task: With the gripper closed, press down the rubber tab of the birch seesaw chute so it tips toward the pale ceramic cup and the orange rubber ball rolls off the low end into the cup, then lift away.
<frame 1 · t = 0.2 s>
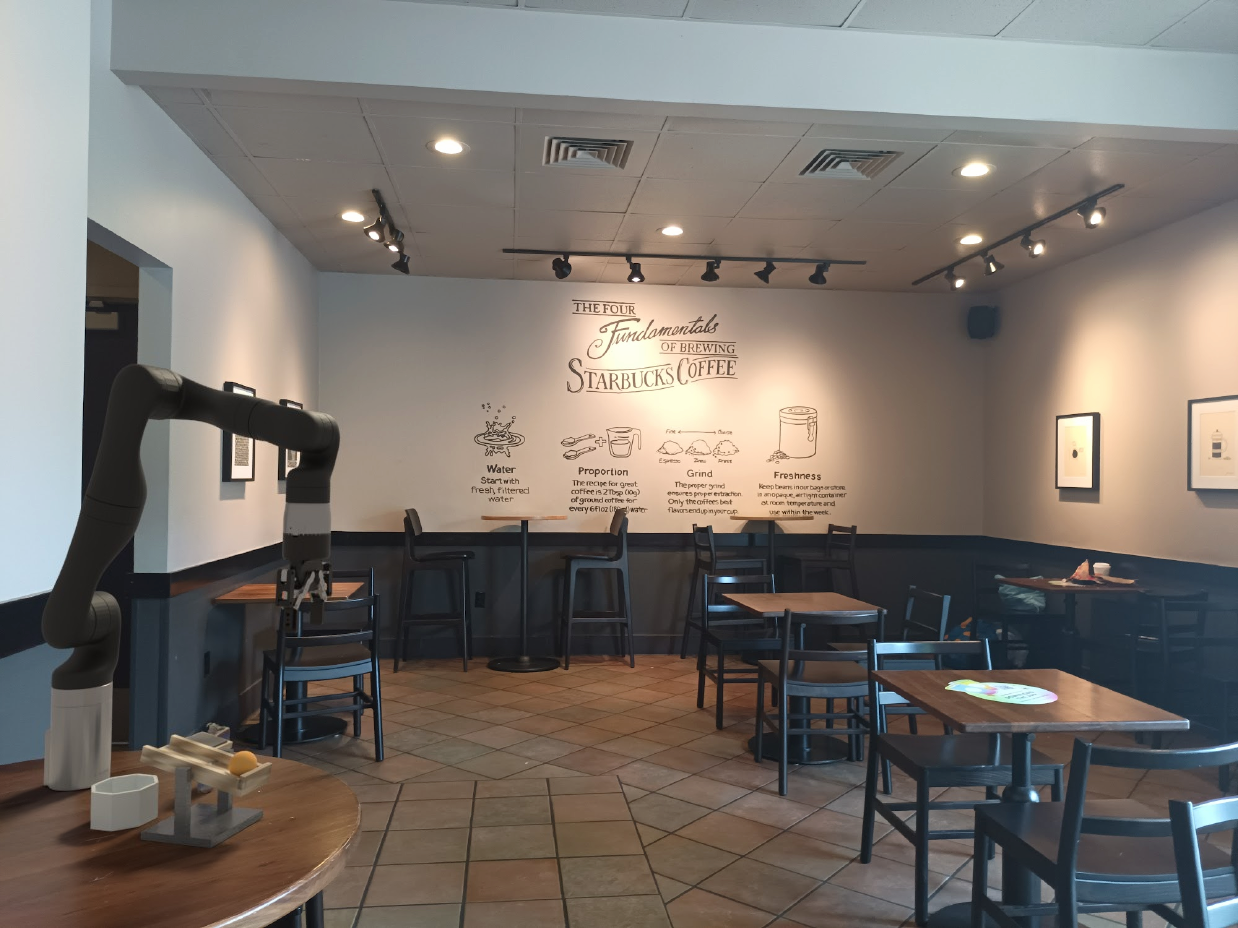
hand: (304, 628, 143), 29 cm above the table, fingers open, 8 cm apart
lever stand: (204, 828, 132), on the table
lever: (220, 756, 135), point 10 cm above the table, hinge at 12.0°, touching ball
ball: (243, 764, 131), point 10 cm above the table, tilted 12°, touching lever
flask: (212, 785, 151), on the table
cup: (124, 818, 135), on the table
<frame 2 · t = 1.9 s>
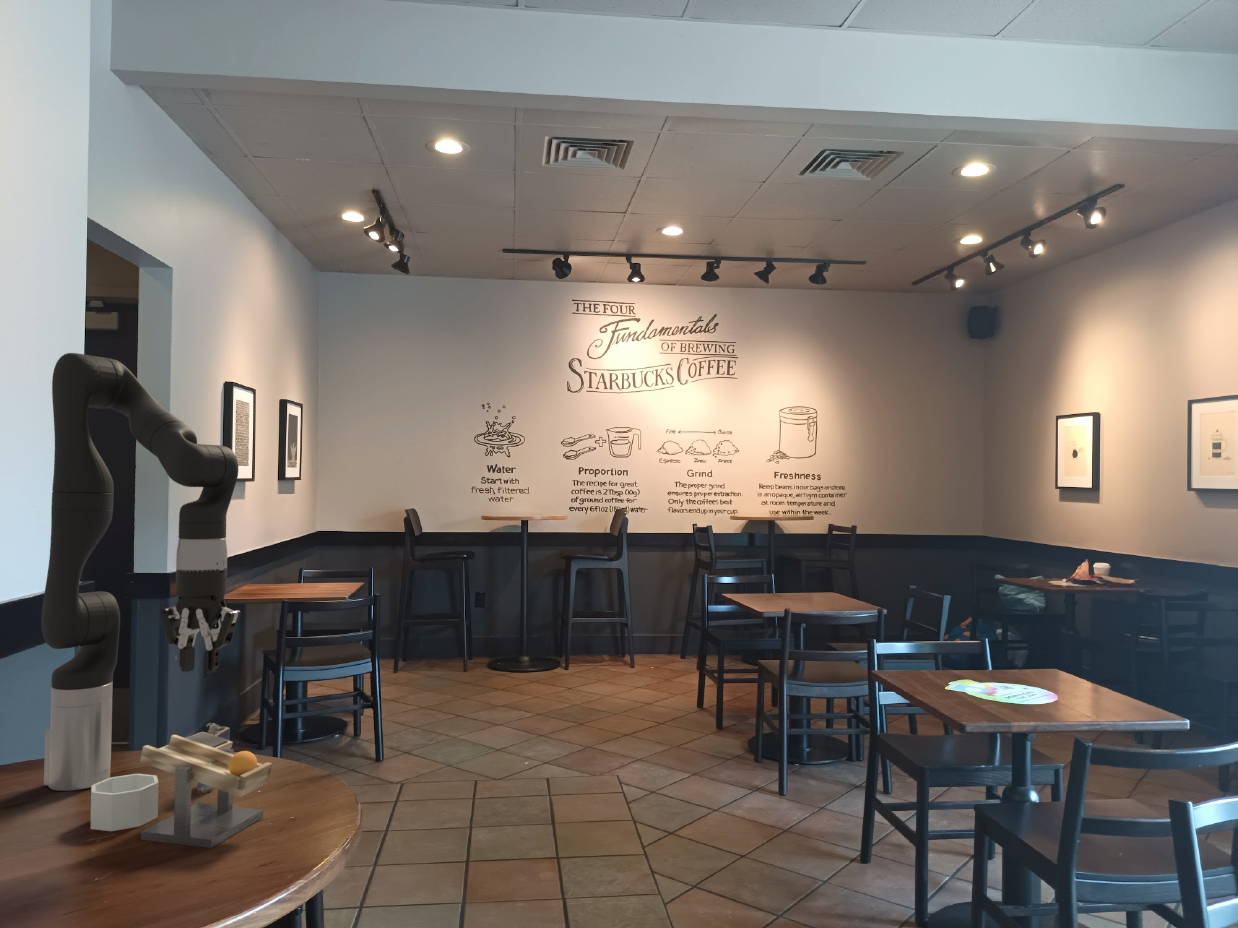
hand: (199, 671, 140), 22 cm above the table, fingers open, 3 cm apart
nothing on the table moved.
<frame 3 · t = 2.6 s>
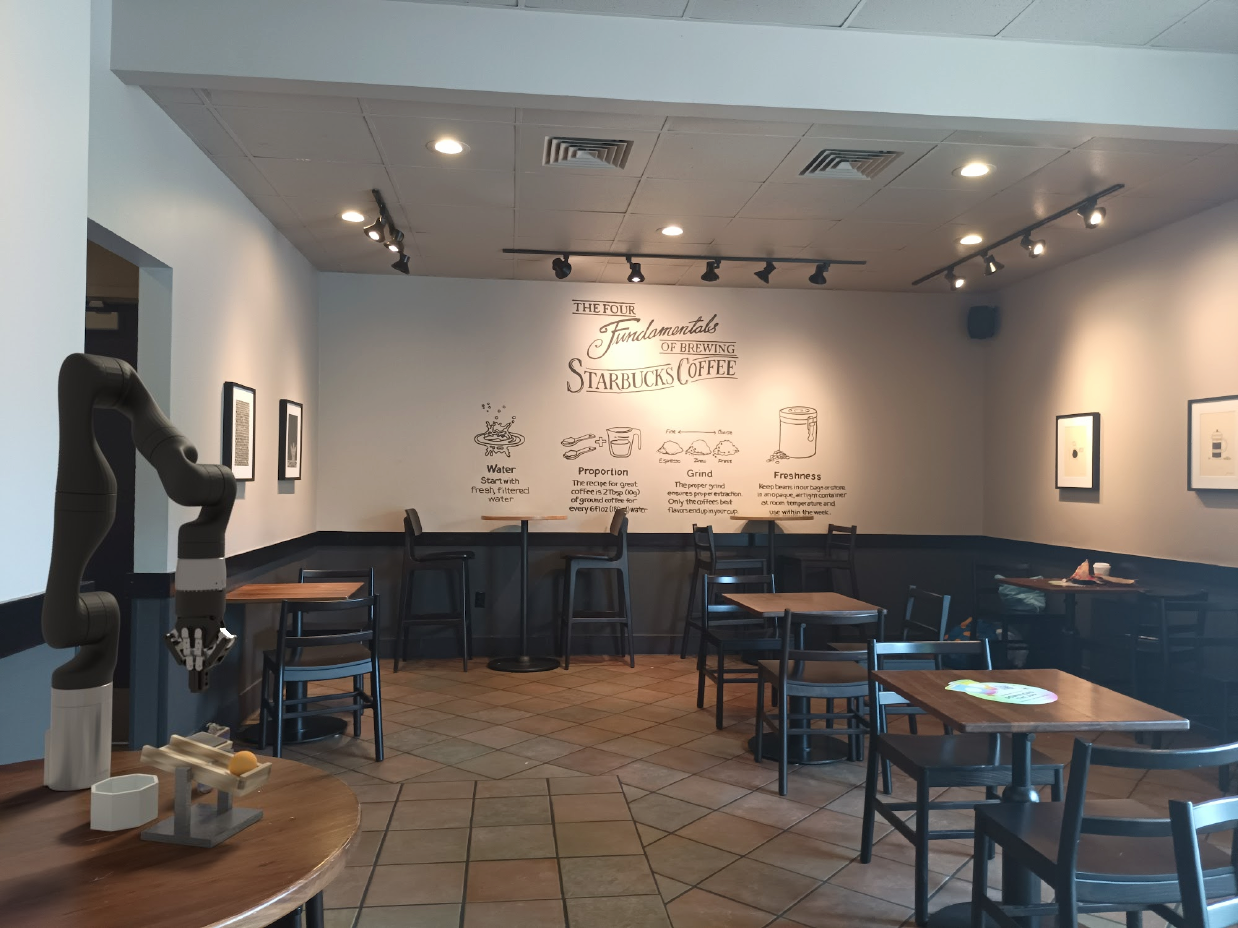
hand: (198, 692, 140), 19 cm above the table, fingers closed
nothing on the table moved.
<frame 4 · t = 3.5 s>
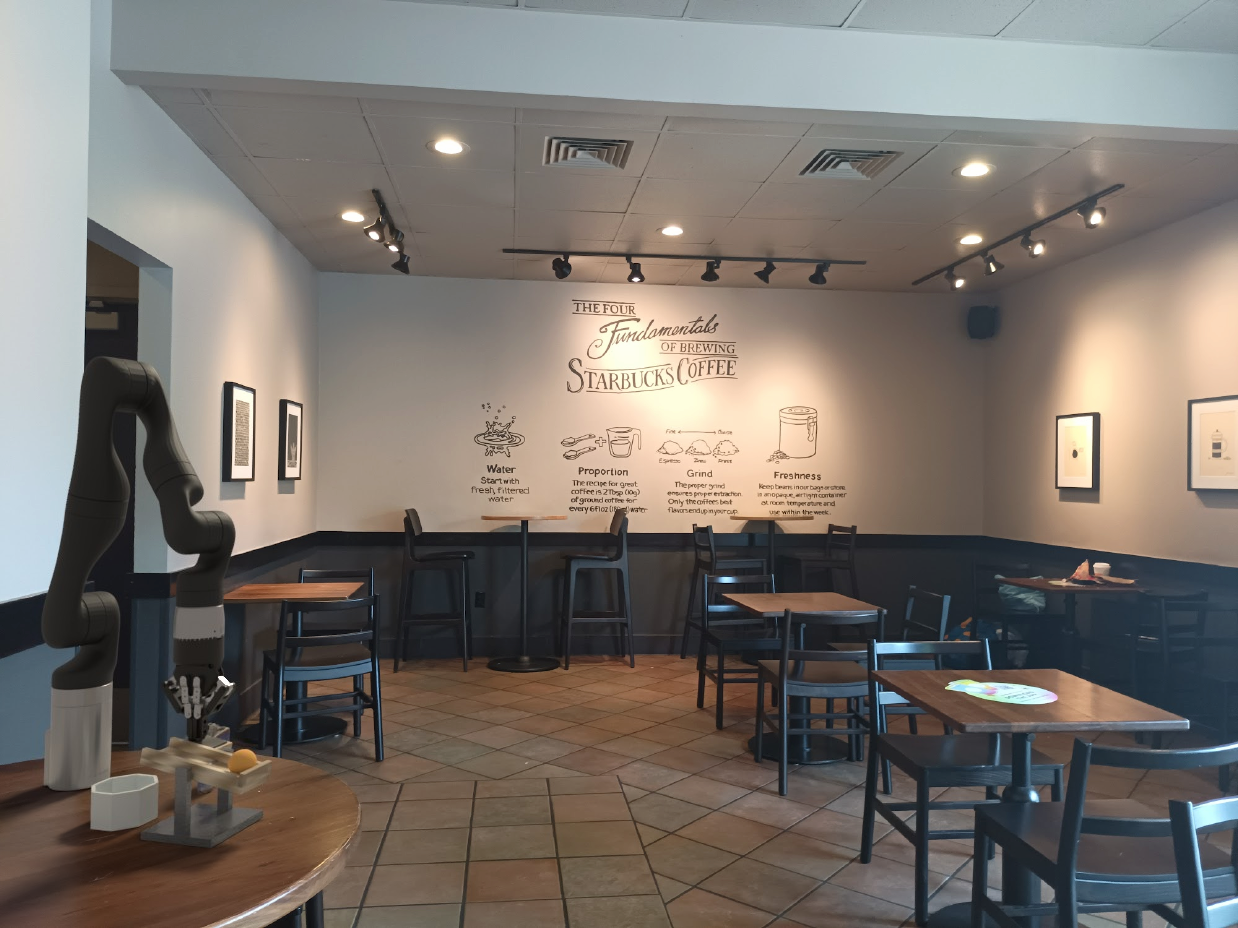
hand: (197, 739, 140), 11 cm above the table, fingers closed
lever: (220, 756, 135), point 10 cm above the table, hinge at 9.6°, touching ball, gripper
everything else where it was.
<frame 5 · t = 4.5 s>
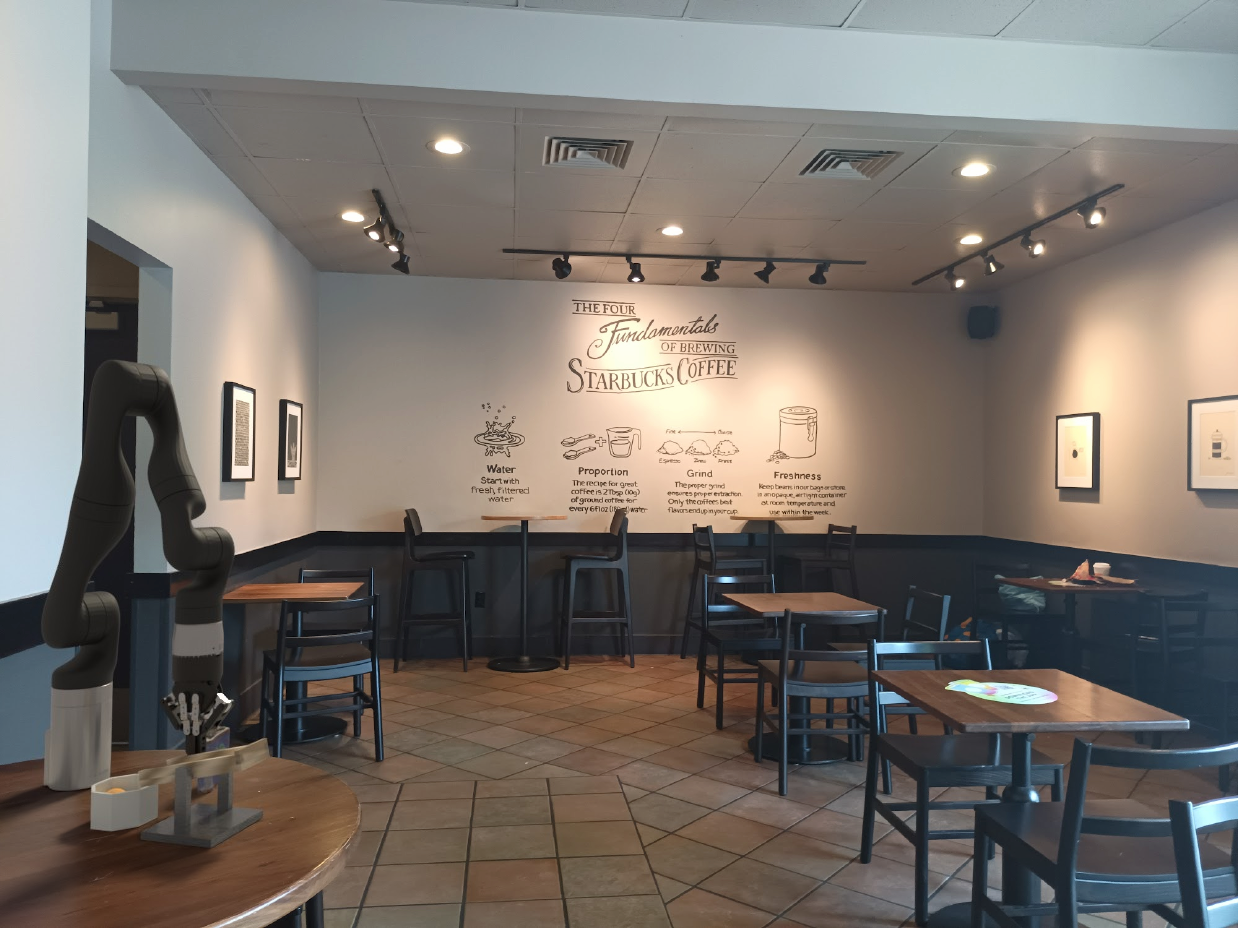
hand: (195, 756, 140), 8 cm above the table, fingers closed
lever: (218, 756, 135), point 10 cm above the table, hinge at -12.6°, touching gripper
ball: (114, 801, 136), point 2 cm above the table, touching cup
everything else where it was.
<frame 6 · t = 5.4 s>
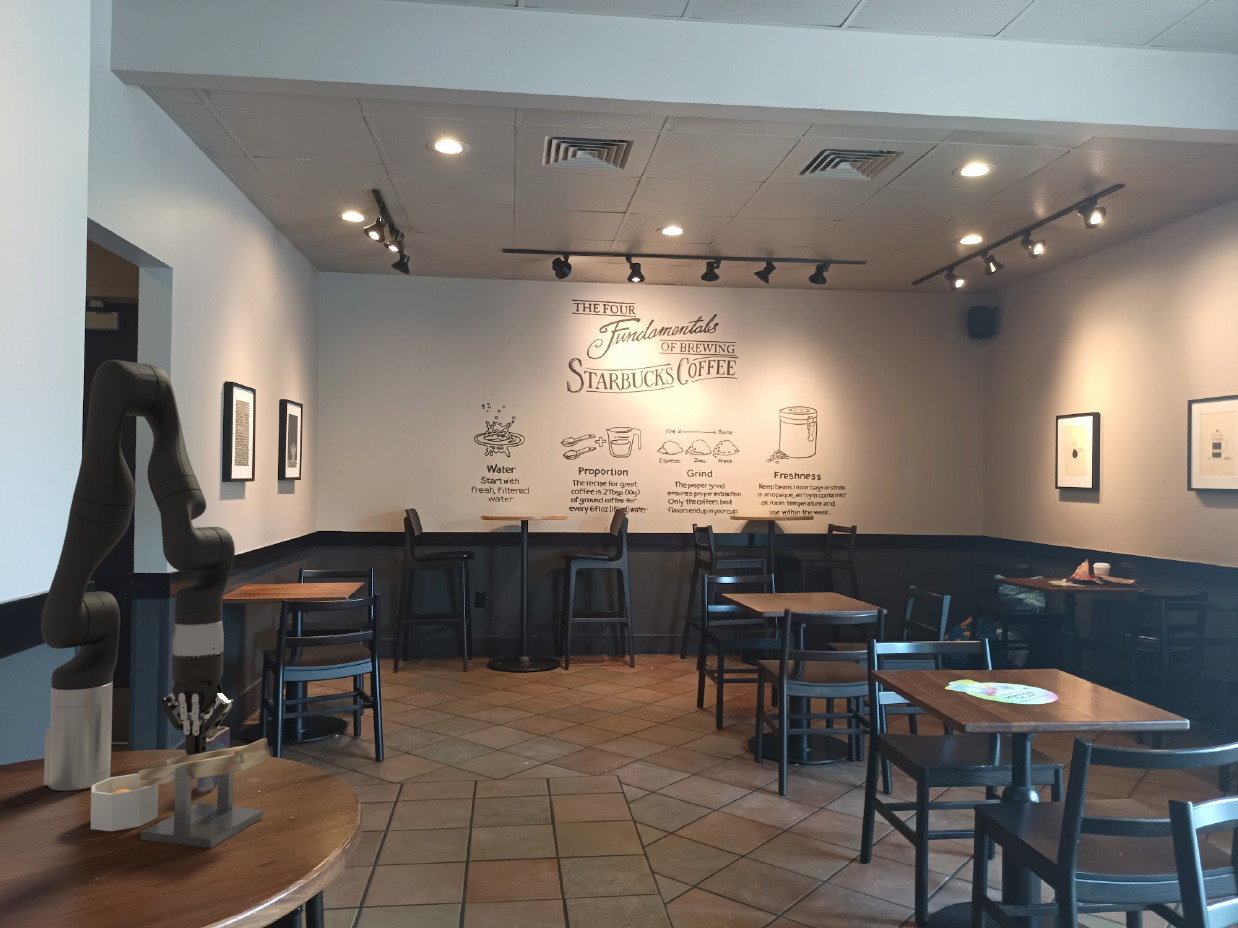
hand: (195, 756, 140), 8 cm above the table, fingers closed
ball: (120, 802, 135), point 2 cm above the table, tilted 40°, touching cup
everything else where it was.
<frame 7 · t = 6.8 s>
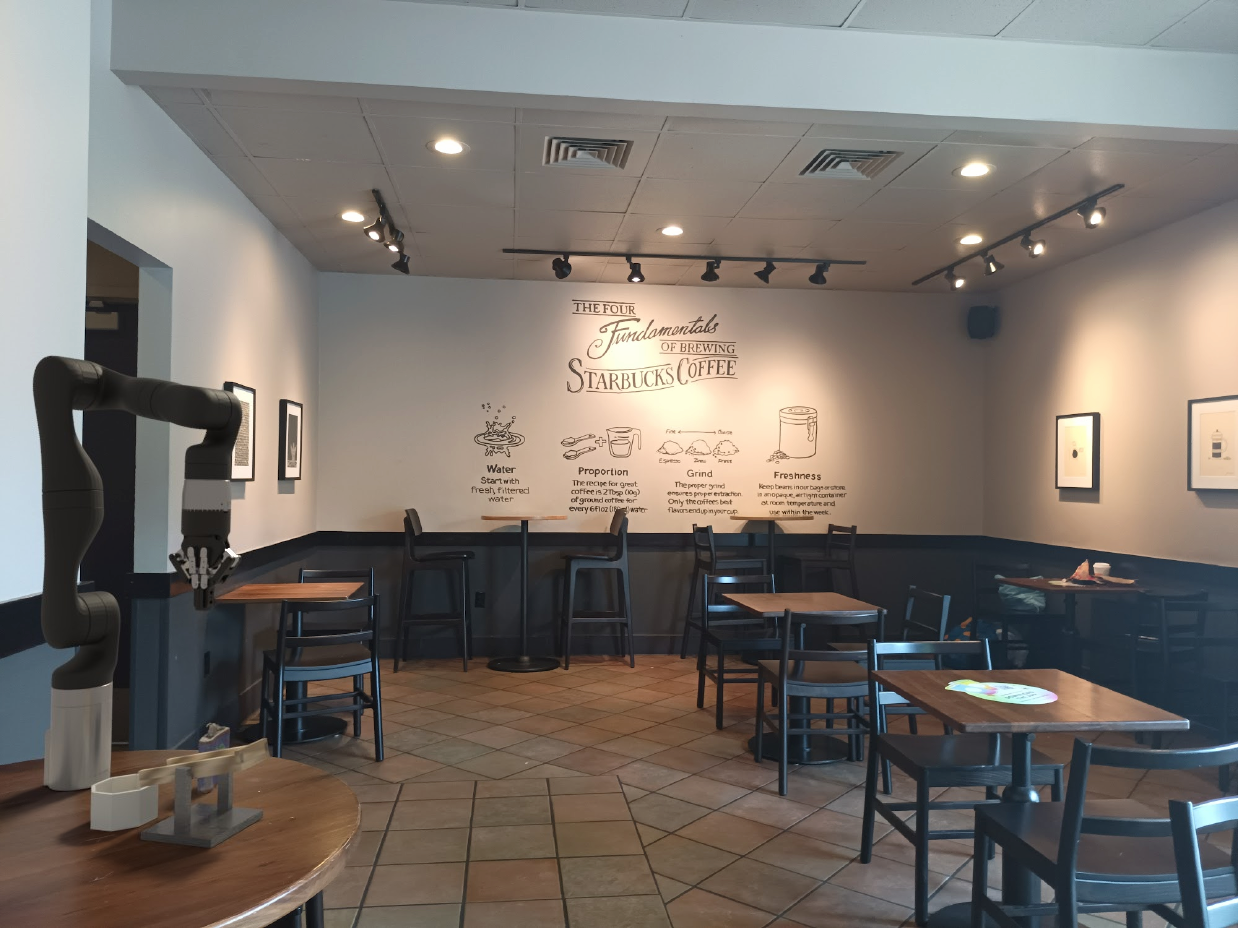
hand: (203, 610, 144), 32 cm above the table, fingers closed
lever: (218, 756, 135), point 10 cm above the table, hinge at -12.6°
ball: (131, 803, 135), point 2 cm above the table, tilted 96°, touching cup
everything else where it was.
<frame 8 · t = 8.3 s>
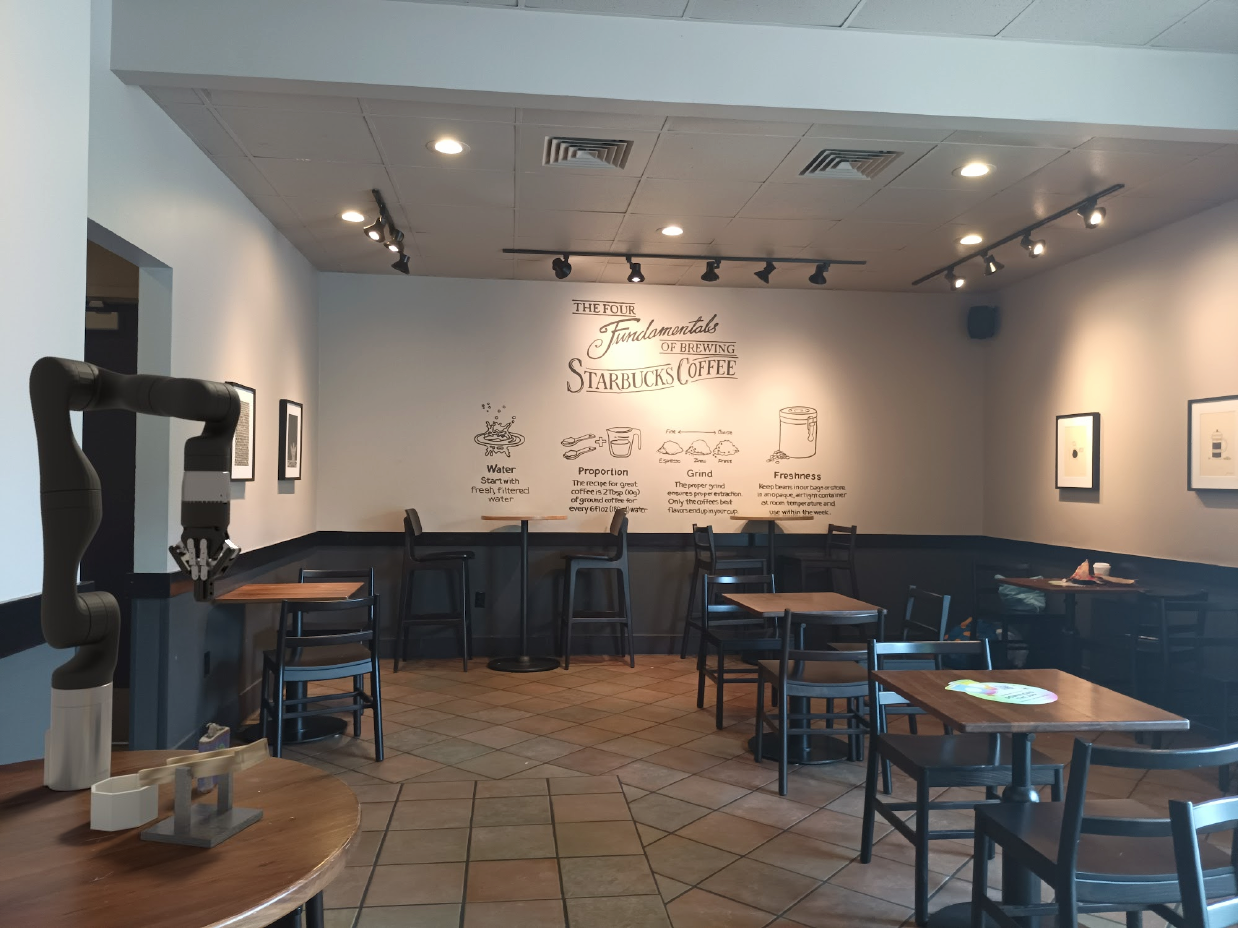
hand: (203, 601, 145), 33 cm above the table, fingers closed
ball: (132, 803, 135), point 2 cm above the table, tilted 103°, touching cup
everything else where it was.
at the end: ball inside the target area on the cup (1.5 cm from its centre), point 2.5 cm above the cup's base; lever at -13° (first picture: +12°) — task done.
